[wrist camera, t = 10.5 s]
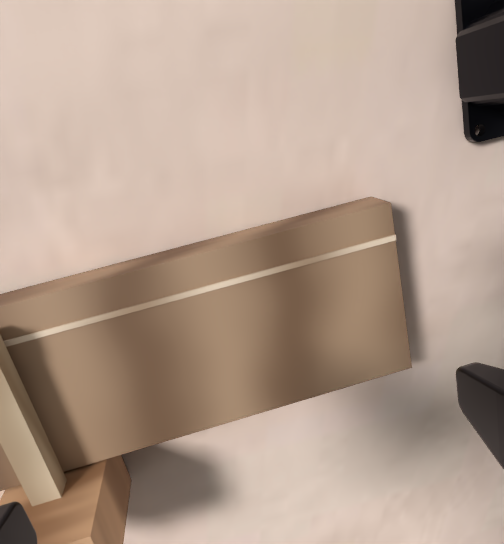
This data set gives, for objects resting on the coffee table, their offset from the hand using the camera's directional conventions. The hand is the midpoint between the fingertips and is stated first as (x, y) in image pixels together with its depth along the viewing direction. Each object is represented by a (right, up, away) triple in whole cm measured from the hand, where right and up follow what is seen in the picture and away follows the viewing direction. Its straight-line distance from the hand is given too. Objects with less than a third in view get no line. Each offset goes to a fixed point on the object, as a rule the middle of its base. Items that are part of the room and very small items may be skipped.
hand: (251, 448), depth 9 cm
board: (-4, 0, +12) cm, 13 cm away
